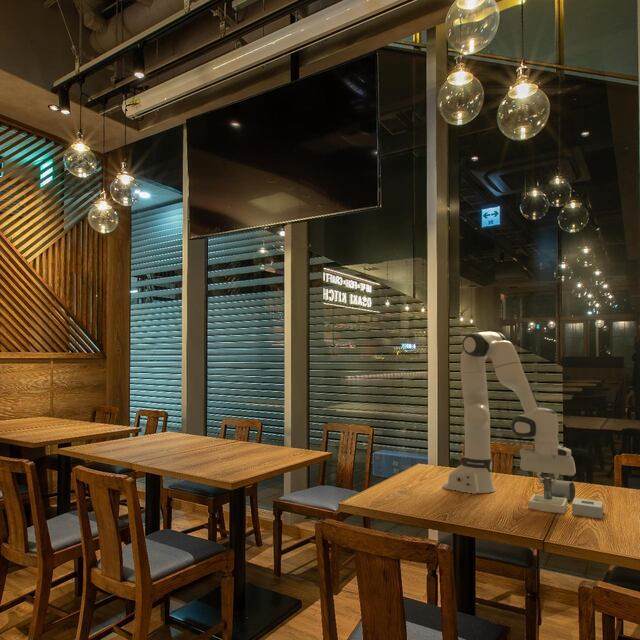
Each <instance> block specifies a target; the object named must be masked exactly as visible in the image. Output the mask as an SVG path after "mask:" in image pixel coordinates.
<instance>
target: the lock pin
mask: <svg viewBox="0 0 640 640" xmlns="http://www.w3.org/2000/svg"><path fill="white" fill-rule="evenodd" d="M542 479H544V481H543V482H544V484H543V496H544V499H548V500H551V499H552V485H551V480H553V478H552V477H549V476H548V477H546V476H544V477H542Z"/></svg>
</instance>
